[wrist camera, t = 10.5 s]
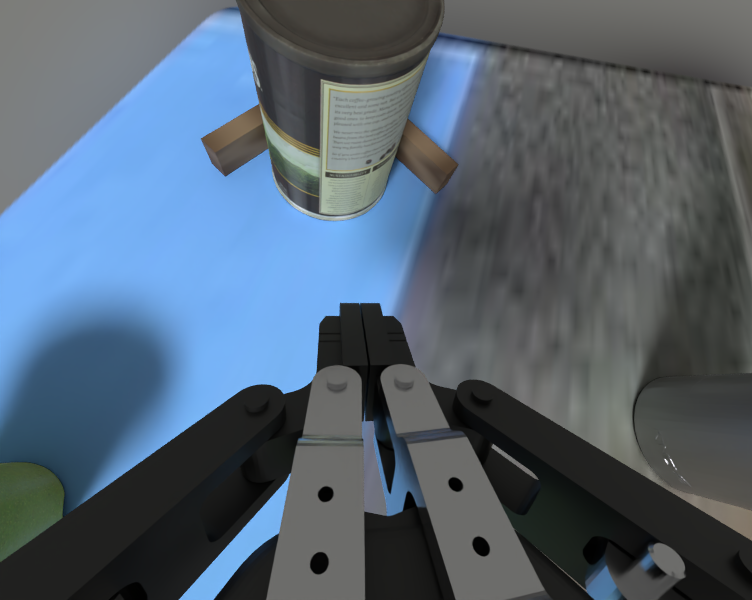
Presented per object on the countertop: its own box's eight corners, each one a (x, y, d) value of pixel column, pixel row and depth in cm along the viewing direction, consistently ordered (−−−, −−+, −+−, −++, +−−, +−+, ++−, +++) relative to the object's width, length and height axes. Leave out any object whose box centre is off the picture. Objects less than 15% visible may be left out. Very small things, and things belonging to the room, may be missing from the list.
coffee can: (257, 206, 27) (196, 19, 13) (288, 111, 30) (263, -118, 16) (378, 235, 28) (434, 89, 14) (395, 140, 31) (454, -51, 18)
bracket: (447, 194, 30) (459, 175, 28) (210, 175, 27) (198, 151, 24) (438, 101, 33) (448, 76, 31) (224, 73, 30) (215, 41, 27)
